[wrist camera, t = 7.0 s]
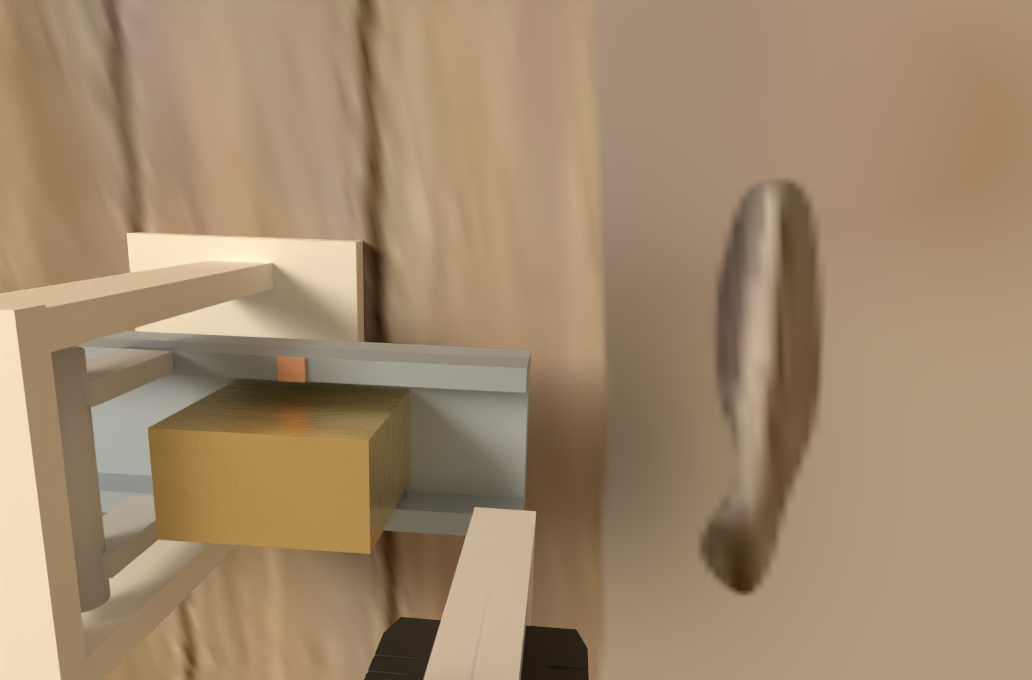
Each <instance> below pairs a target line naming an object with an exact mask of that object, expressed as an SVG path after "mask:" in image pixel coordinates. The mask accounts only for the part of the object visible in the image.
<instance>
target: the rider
mask: <svg viewBox="0 0 1032 680" xmlns="http://www.w3.org/2000/svg"><path fill="white" fill-rule="evenodd" d="M148 439H149V450H150V461H151V472H152V484H153V495H154V506H155V518H156V529H157V540H169V541H184V542H199V543H214V544H229V545H244V546H259V547H274V548H289V549H304V550H319V551H334V552H349V553H364V554H371V552H372V550H373V548H374V546H375V545H376V543H377V541H378V539H379V537H380V536H381V534H382V532H383V530H384V528H385V526H386V525H387V523H388V521H389V519H390V517H391V516H392V514H393V512H394V510H395V508H396V506H397V505H398V503H399V501H400V499H401V497H402V496H403V494H404V492H405V490H406V488H407V487H408V485H409V483H410V390H398V389H378V388H358V387H338V386H319V385H299V384H279V383H259V382H239V381H233V382H232V383H230V384H228V385H226V386H224V387H222V388H220V389H219V390H217V391H215V392H213V393H211V394H209V395H208V396H206V397H204V398H202V399H200V400H198V401H196V402H195V403H193V404H191V405H189V406H187V407H185V408H184V409H182V410H180V411H178V412H176V413H174V414H172V415H171V416H169V417H167V418H165V419H163V420H161V421H160V422H158V423H156V424H154V425H152V426H150V427H148Z"/></svg>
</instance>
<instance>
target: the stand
mask: <svg viewBox="0 0 1032 680" xmlns="http://www.w3.org/2000/svg"><path fill="white" fill-rule="evenodd" d="M127 241H128V252H129V264H130V273H127V274H120V275H114V276H108V277H101V278H95V279H89V280H82V281H76V282H70V283H64V284H57V285H51V286H45V287H38V288H32V289H26V290H20V291H13V292H7V293H1V294H0V680H105V679H106V678H107V677H108V676H109V675H110V674H111V673H112V672H113V671H114V670H115V669H116V668H117V667H118V666H119V665H120V664H121V663H122V662H123V661H124V660H125V659H126V658H127V657H128V656H129V655H130V654H131V653H132V652H133V651H134V649H135V648H136V647H137V646H138V645H139V644H140V643H141V642H142V641H143V640H144V639H145V638H146V637H147V636H148V635H149V634H150V633H151V632H152V631H153V630H154V629H155V628H156V627H157V626H158V625H159V624H160V623H161V622H162V621H163V620H164V619H165V618H166V617H167V616H168V615H169V614H170V613H171V612H172V611H173V610H174V609H175V608H176V607H177V606H178V605H179V604H180V603H181V602H182V601H183V600H184V599H185V598H186V597H187V595H188V594H189V593H190V592H191V591H192V590H193V589H194V588H195V587H196V586H197V585H198V584H199V583H200V582H201V581H202V580H203V579H204V578H205V577H206V576H207V575H208V574H209V573H210V572H211V571H212V570H213V569H214V568H215V567H216V566H217V565H218V564H219V563H220V562H221V561H222V560H223V559H224V558H225V557H226V556H227V555H228V554H229V553H230V552H231V551H232V550H233V549H234V548H235V547H236V546H237V545H229V544H214V543H199V542H184V541H169V540H157V541H156V542H155V543H154V544H153V545H151V546H150V547H149V548H148V549H147V550H145V551H144V552H143V553H142V554H141V555H139V556H138V557H137V558H136V559H135V560H133V561H132V562H131V563H130V564H129V565H127V566H126V567H125V568H124V569H123V570H121V571H120V572H119V573H118V574H117V575H115V576H114V577H113V578H109V584H110V593H111V596H110V598H109V600H108V601H107V602H106V603H105V604H103V605H102V606H100V607H98V608H96V609H93V610H91V611H88V612H84V613H81V606H80V598H79V589H78V580H77V572H76V563H75V555H74V546H73V538H72V529H71V520H70V512H69V503H68V495H67V486H66V477H65V469H64V460H63V452H62V443H61V435H60V426H59V417H58V409H57V400H56V392H55V383H54V374H53V366H52V357H51V352H53V351H57V350H60V349H64V348H67V347H71V346H74V345H78V344H81V343H85V342H88V341H92V340H95V339H99V338H102V337H106V336H109V335H113V334H116V333H120V332H123V331H126V330H130V329H133V328H135V331H140V332H161V333H182V334H203V335H225V336H246V337H267V338H289V339H310V340H331V341H353V342H364V288H363V241H354V240H327V239H301V238H275V237H248V236H222V235H196V234H169V233H143V232H139V233H127Z"/></svg>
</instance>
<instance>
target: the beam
mask: <svg viewBox="0 0 1032 680" xmlns="http://www.w3.org/2000/svg"><path fill="white" fill-rule="evenodd" d="M51 357H52V366H53V374H54V383H55V392H56V400H57V409H58V417H59V426H60V435H61V443H62V452H63V460H64V469H65V477H66V486H67V495H68V503H69V512H70V520H71V529H72V538H73V546H74V555H75V563H76V572H77V580H78V589H79V598H80V606H81V613H84V612H88V611H91V610H93V609H96V608H98V607H100V606H102V605H103V604H105V603H106V602H107V601H108V600H109V598H110V596H111V593H110V584H109V578H113V577H114V576H115V575H117V574H118V573H119V572H120V571H121V570H123V569H124V568H125V567H126V566H127V565H129V564H130V563H131V562H132V561H133V560H135V559H136V558H137V557H138V556H139V555H141V554H142V553H143V552H144V551H145V550H147V549H148V548H149V547H150V546H151V545H153V544H154V543H155V542H156V541H157V529H156V518H155V506H154V495H153V484H152V472H151V461H150V450H149V439H148V427H150V426H152V425H154V424H156V423H158V422H160V421H161V420H163V419H165V418H167V417H169V416H171V415H172V414H174V413H176V412H178V411H180V410H182V409H184V408H185V407H187V406H189V405H191V404H193V403H195V402H196V401H198V400H200V399H202V398H204V397H206V396H208V395H209V394H211V393H213V392H215V391H217V390H219V389H220V388H222V387H224V386H226V385H228V384H230V383H232V382H233V381H239V382H259V383H279V384H299V385H319V386H338V387H358V388H378V389H398V390H410V483H409V485H408V487H407V488H406V490H405V492H404V494H403V496H402V497H401V499H400V501H399V503H398V505H397V506H396V508H395V510H394V512H393V514H392V516H391V517H390V519H389V521H388V523H387V525H386V526H385V528H384V530H383V531H398V532H414V533H429V534H444V535H460V536H466V535H467V531H468V528H469V525H470V521H471V518H472V515H473V511H474V508H475V507H480V508H494V509H509V510H523V511H524V509H525V496H526V470H527V443H528V416H529V390H530V363H531V350H523V349H502V348H481V347H459V346H438V345H417V344H395V343H374V342H353V341H331V340H310V339H289V338H267V337H246V336H225V335H203V334H182V333H161V332H140V331H123V332H120V333H116V334H113V335H109V336H106V337H102V338H99V339H95V340H92V341H88V342H85V343H81V344H78V345H74V346H71V347H67V348H64V349H60V350H57V351H53V352H51ZM102 512H107V514H105V515H104V516H102Z"/></svg>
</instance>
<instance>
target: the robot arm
mask: <svg viewBox="0 0 1032 680" xmlns="http://www.w3.org/2000/svg"><path fill="white" fill-rule="evenodd" d="M535 529H536V511H523V510H509V509H494V508H480V507H475V508H474V511H473V515H472V518H471V521H470V525H469V528H468V531H467V535H466V538H465V542H464V545H463V548H462V552H461V555H460V558H459V562H458V565H457V568H456V572H455V575H454V578H453V582H452V585H451V588H450V592H449V595H448V599H447V602H446V605H445V609H444V612H443V615H442V619H441V620H430V619H418V618H406V617H400V618H399V619H398V620H397V621H396V622H395V623H394V624H393V625H392V626H391V627H390V628H389V629H388V630H386V631H385V632H384V633H383V636H382V638H381V641H380V643H379V645H378V648H377V650H376V653H375V657H373V660H372V662H371V665H370V667H369V671H368V673H367V674H366V677H365V679H364V680H589V677H588V650H587V647H586V645H585V643H584V642H583V640H582V638H581V637H580V635H579V633H578V632H577V630H575V629H562V628H550V627H538V626H530V625H531V614H532V595H533V573H534V551H535Z"/></svg>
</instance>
